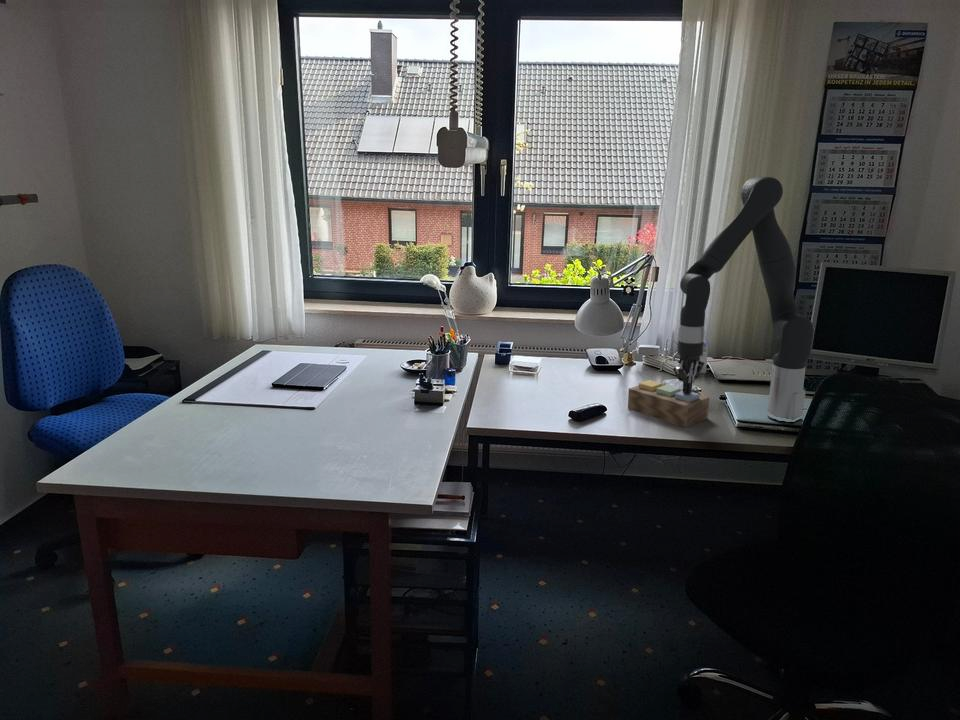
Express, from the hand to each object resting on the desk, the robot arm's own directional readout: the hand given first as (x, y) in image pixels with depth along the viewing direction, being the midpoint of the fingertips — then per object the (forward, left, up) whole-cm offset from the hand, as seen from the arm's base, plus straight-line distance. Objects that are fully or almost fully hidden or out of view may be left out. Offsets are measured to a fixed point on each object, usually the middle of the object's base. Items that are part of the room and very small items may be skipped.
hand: (687, 393), depth 205 cm
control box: (+7, 0, -9) cm, 11 cm away
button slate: (0, 0, -7) cm, 7 cm away
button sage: (+7, 0, -7) cm, 10 cm away
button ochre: (+14, 0, -7) cm, 16 cm away
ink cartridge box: (+29, -46, -9) cm, 55 cm away
